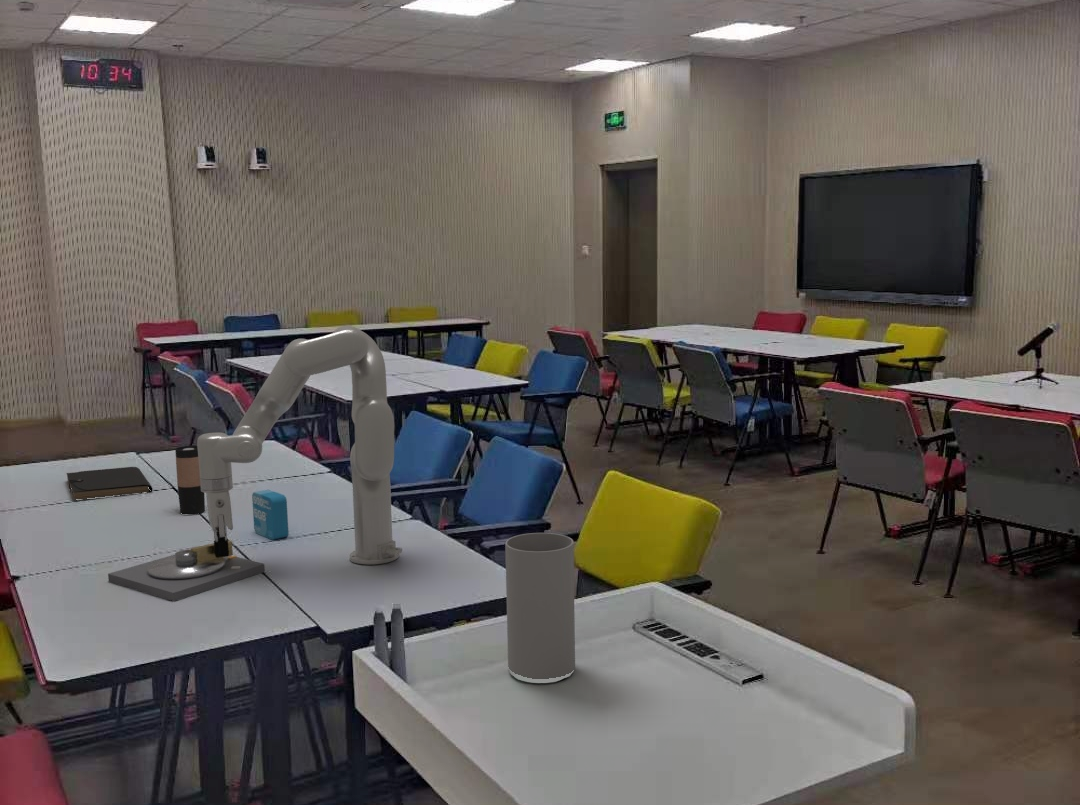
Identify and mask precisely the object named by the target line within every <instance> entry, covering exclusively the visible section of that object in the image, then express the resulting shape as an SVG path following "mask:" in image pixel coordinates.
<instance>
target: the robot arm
mask: <svg viewBox="0 0 1080 805" xmlns="http://www.w3.org/2000/svg"><path fill="white" fill-rule="evenodd" d="M347 366H349V367H350V371H351V385H352V390H351V391H352V393H351V395H352V401H351V402H352V404H351V419H352V422H353V425H354V443H353V445H352V446H351V450H350V454H349V456H350V458H349V459H350V461H349V462H350V471H351V481H352V482H351V483H352V484H351V485H352V503H353V523H354V524H353V525H354V526H353V527H354V529H353V530H354V546H355V549H354V551H351V552H350V553H349V560H350V561H351V562H352V563H354V564H359V565H381V564H388V563H390V562H393V561H396V560H397V559H398V558H399V557H400V554H402V553H403V549H402V548H401V547H397V546H396V540H393V522H392V520H393V519H392V517H393V516H392V499H391V498H392V491H391V489H392V488H391V476H390V474H391V472H392V470H393V467H394V461H395V422H394V421H395V420H394V414H393V410H392V408H391V406H390V405H389V403H388V395H387V394H388V392H387V389H388V388H387V373H386V372H387V370H386V369H387V368H386V363H385V359H384V356H383V353H382V351H381V349H380V348H379V346H378V344H377V343H376V341H375V340H374V339H373V338H372V337H371V336H370V335H368V334H367V333H366V332H364V331H362V330H361V329H359V328H357V327H356V326H352V325H341V326H339V327H337V328H336V329H334V331H333V332H332V333H329V334H326V335H321V336H319V337H315V338H311V339H310V338H309V339H306V338H297V339H294V340H292V341H291V342H289V343H288V345H286V347H285V349H284V351H283V352H282V354H281V355H280V357H279V359H278V360H277V362H276V363H275V365H274V367H273V368H272V370H271V372H269V374H268V376H267V377H266V380H265V381H264V383H263V384H262V386H260V388H259V391H258V392H257V394H256V396H255V398H254V400H253V401H252V403H251V405H249V407H248V408H247V411H246V412H245V414H244V416H243V417H242V418H241V420H240V422H239V423H238V425H237V427H236V428H235V430H234V431H233V434H232V435H231V434H230V435H228V434H227V433H224V432H208V433H203V434H201V435H199V436H198V437H197V441H196V443H197V444H196V446H197V447H198V460H199V472H200V485H201V491H202V492H204V494H205V493H206V494H205V495H206V497H205V498H206V506H207V515H208V521H209V525H210V529H211V530H212V532H213V539H214V540H213V543H214V550H215V557H216V558H219V557H226V556H229V548H228V540H229V539H228V532H227V531H228V530H230V531H233V530H234V523H233V514H232V503H231V496H230V491H231V490H233V489H234V485H233V484H234V483H233V469H232V463H235V464H236V463H237V464H249V463H254V462H255V461H257V460H258V459H259V458H260V457H261V454H262V452H263V444H264V442H265V439H266V438H267V437H268V435H269V433H270V432H271V430H272V429H273V427H274V425H275V424H276V422H277V421H279V419H280V418H281V417H282V415H283V414H285V413H286V412H287V411H289V410H290V408H291V407H292V406H293V404H294V403H295V402H296V400H297V398H298V397H299V395H300V393H301V391H302V389H304V387H305V385H306V383H307V382H308V380H309V379H310V377H311V376H314V375H317V374H322V373H326V372H330V371H334V370H337V369H339V368H343V367H347ZM227 529H228V530H227Z"/></svg>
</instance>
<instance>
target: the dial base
mask: <svg viewBox="0 0 1080 805" xmlns="http://www.w3.org/2000/svg"><path fill="white" fill-rule="evenodd" d="M171 556H175V554H172V555H169V556H165V557H161V558H158V559H155V560H151V561H148V562H143V563H141V564H137V565H134V566H131V567H126V568H123V569H120V570H116V571H113V572H109V573H107V576H108V578H107V579H108V583H112V584H115V585H119V586H122V587H125V588H129V589H132V590H134V591H139V592H142V593H145V594H149V595H151V596H155V597H158V598H161V597H162V599H165V600H169V601H171V600H172V602H176V601H179V600H182V599H185V598H188V597H192V596H195V595H197V594H201V593H203V592H206V591H209V590H213V589H217V588H219V587H222V586H225V585H228V584H231V583H234V582H237V581H241V580H243V579H247V578H249V577H252V576H255V575H258V574H262V573H265V572H266V571H265V570H266V569H265V568H266V566H265V563H263V562H259V561H255V560H250V559H247V558H243V557H238V556H237V555H231V556H226V557H224V558H225V566H224V568H222V569H221V570H219V571H217V572H215V573H212V574H209V575H205V576H201V577H196V578H189V579H176V580H170V579H158V578H154V577H152V576H150V575H149V574H148V566H149V565H150V564H151V563H153V562H155V561H157V560H160V559H163V558H167V557H171Z"/></svg>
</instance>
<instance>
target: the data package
mask: <svg viewBox="0 0 1080 805" xmlns="http://www.w3.org/2000/svg"><path fill="white" fill-rule="evenodd" d="M251 498H252V515H253V516H252V517H253V529H254V533H255V534H257V535H260V536H261V537H265V538H267V539H268V540H272V541H274V540H279V539H283V538H287V537H288V536H289V534H290V533H289V518H288V500H287V496H285V494H282V493H279V492H276V491H274V490H270V489H264V490H263V489H262V490H259V491H257V490H256V491H254V492H252V494H251Z"/></svg>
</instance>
